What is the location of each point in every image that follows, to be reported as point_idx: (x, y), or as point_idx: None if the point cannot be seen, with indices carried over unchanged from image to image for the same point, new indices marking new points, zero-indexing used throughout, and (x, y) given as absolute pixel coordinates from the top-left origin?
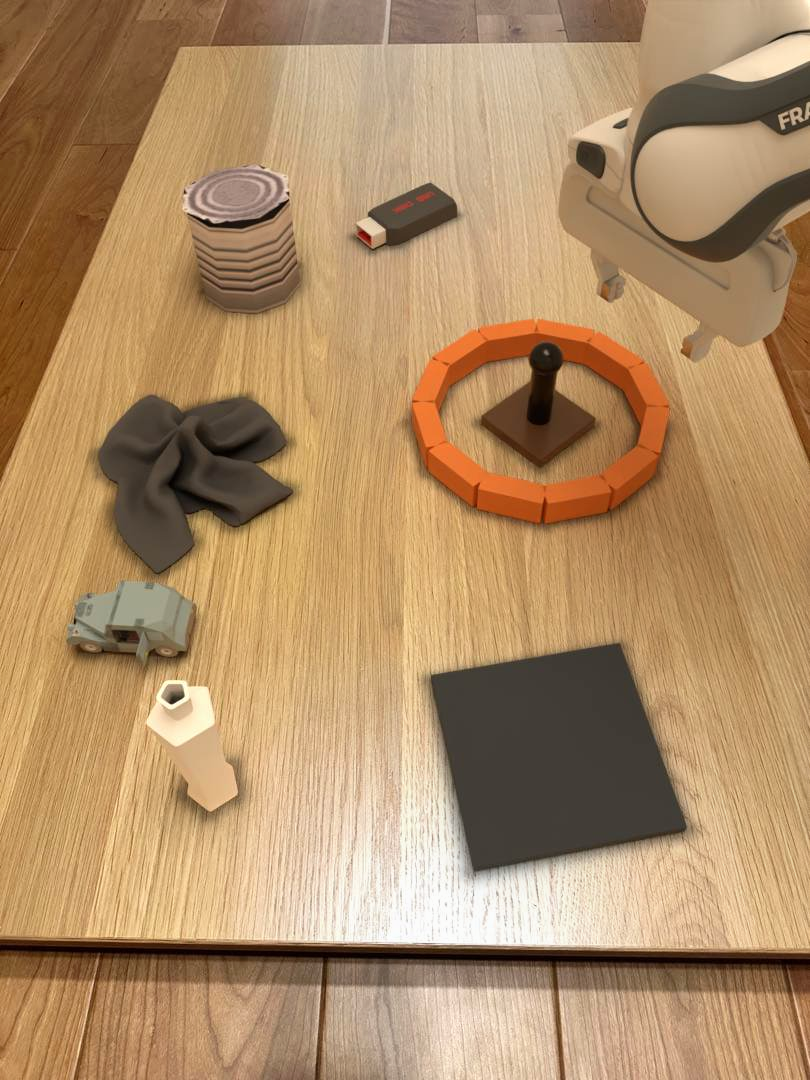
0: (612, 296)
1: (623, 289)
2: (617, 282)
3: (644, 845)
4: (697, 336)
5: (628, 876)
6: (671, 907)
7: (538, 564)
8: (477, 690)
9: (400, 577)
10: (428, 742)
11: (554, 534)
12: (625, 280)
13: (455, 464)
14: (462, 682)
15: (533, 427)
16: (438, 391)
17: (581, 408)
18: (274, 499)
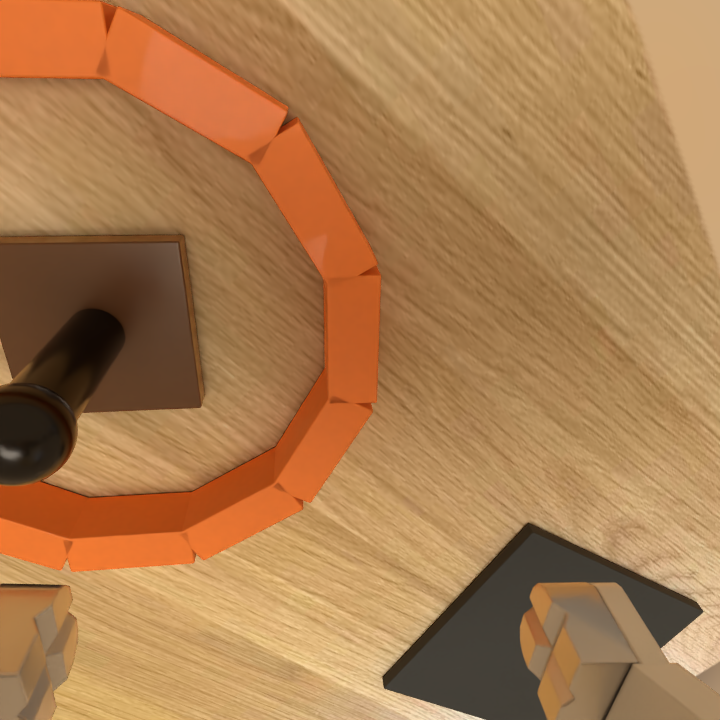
0: (64, 666)
1: (47, 609)
2: (19, 715)
3: None
4: (599, 695)
5: (665, 654)
6: (711, 646)
7: (357, 515)
8: (437, 667)
9: (241, 640)
10: (432, 705)
11: None
12: (23, 670)
13: (130, 558)
14: (417, 672)
15: (118, 362)
16: None
17: (132, 244)
18: None
